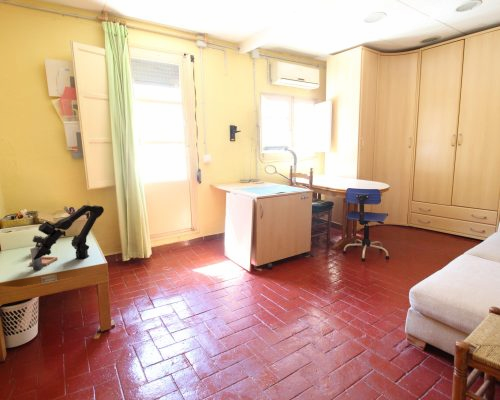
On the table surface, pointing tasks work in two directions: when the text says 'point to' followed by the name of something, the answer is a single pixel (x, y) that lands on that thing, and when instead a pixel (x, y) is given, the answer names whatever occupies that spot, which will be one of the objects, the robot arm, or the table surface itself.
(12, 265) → the table surface
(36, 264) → the canister
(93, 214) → the robot arm
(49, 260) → the tray
